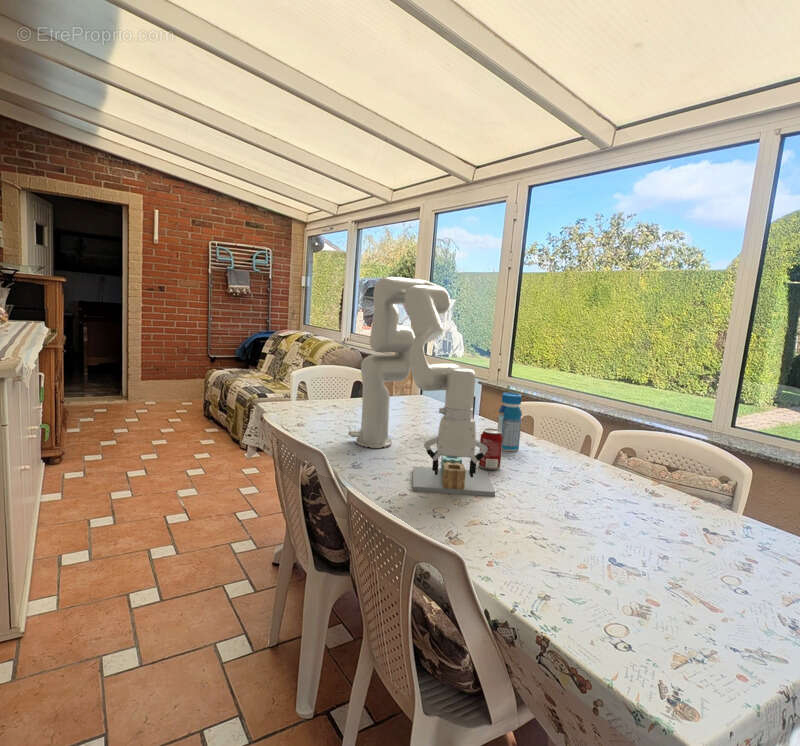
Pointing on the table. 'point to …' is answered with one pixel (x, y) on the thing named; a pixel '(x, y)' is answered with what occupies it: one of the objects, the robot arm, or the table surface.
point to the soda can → (491, 449)
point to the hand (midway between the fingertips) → (453, 474)
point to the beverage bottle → (510, 421)
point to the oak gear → (453, 475)
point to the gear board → (433, 483)
